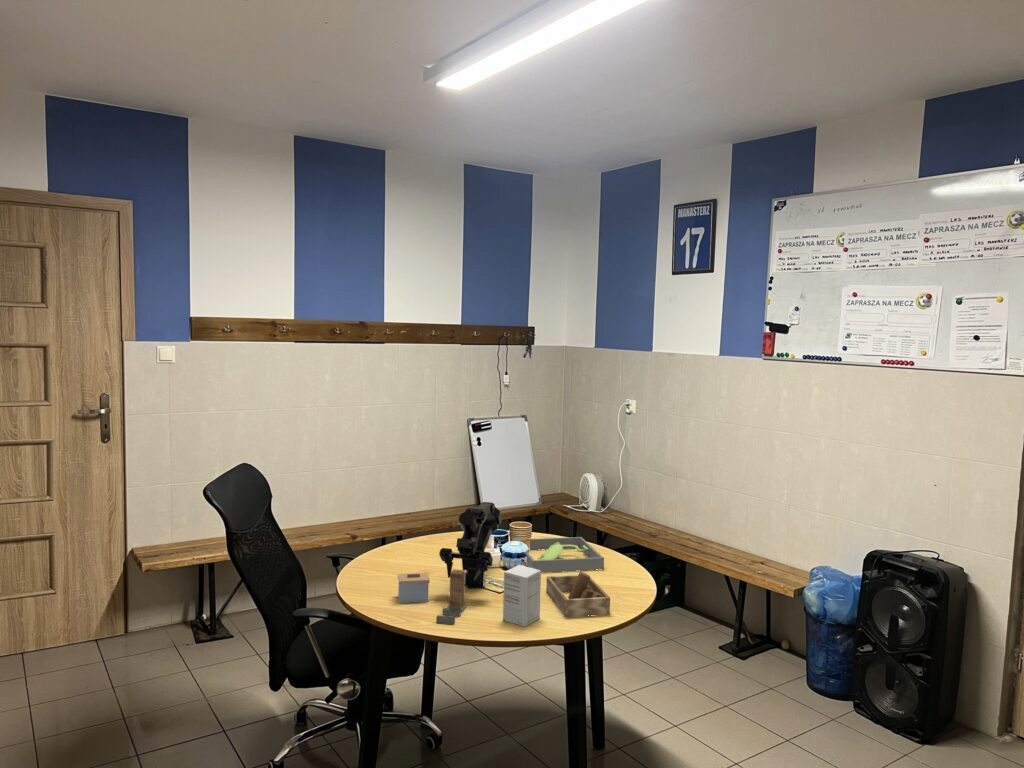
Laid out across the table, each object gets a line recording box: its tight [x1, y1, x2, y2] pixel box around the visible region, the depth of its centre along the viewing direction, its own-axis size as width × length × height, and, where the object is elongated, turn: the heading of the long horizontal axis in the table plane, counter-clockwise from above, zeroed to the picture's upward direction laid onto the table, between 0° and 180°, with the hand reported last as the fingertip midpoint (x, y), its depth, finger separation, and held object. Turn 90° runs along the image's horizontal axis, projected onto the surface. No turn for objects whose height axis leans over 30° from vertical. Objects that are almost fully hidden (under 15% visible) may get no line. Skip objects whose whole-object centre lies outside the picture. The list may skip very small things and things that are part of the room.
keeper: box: [435, 607, 462, 625], centre depth 249 cm, size 8×6×2 cm
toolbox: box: [397, 572, 431, 604], centre depth 266 cm, size 11×8×9 cm
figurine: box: [531, 542, 588, 560], centre depth 315 cm, size 18×27×6 cm
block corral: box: [545, 574, 611, 618], centre depth 267 cm, size 16×24×6 cm, turn 13°
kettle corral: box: [526, 536, 605, 574], centre depth 315 cm, size 30×30×5 cm
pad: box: [446, 603, 468, 613], centre depth 259 cm, size 6×6×1 cm
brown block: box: [449, 568, 466, 610], centre depth 258 cm, size 4×4×12 cm
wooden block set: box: [567, 571, 604, 599], centre depth 267 cm, size 18×9×10 cm, turn 15°
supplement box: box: [502, 564, 542, 627], centre depth 250 cm, size 10×9×17 cm
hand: (461, 578), depth 263 cm, fingers open, 9 cm apart
